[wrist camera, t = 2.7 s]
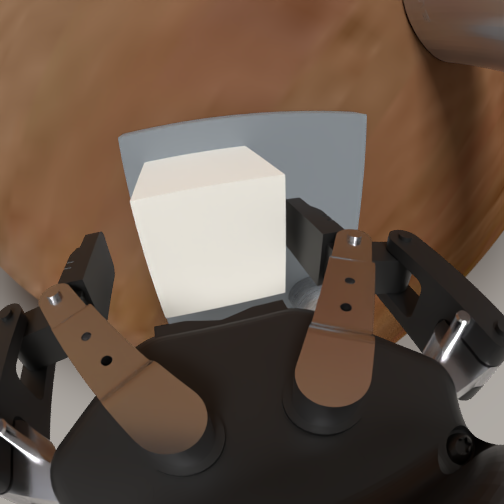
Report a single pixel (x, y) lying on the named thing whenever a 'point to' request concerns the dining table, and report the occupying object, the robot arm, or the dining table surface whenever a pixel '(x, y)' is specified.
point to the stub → (304, 294)
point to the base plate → (277, 154)
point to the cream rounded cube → (212, 228)
